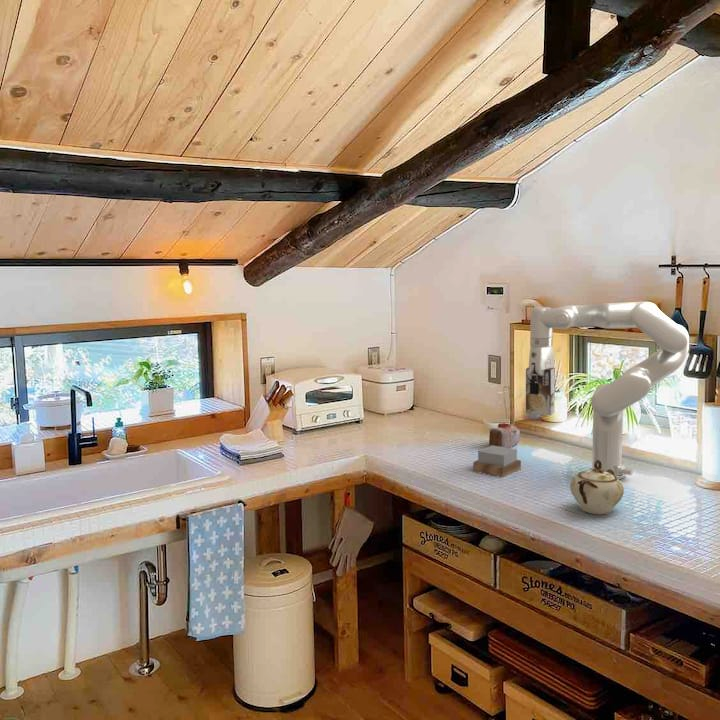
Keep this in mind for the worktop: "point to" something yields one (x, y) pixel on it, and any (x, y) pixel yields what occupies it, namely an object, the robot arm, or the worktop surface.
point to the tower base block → (497, 468)
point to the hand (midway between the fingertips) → (540, 392)
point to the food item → (504, 435)
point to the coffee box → (541, 394)
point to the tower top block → (497, 455)
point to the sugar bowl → (597, 490)
